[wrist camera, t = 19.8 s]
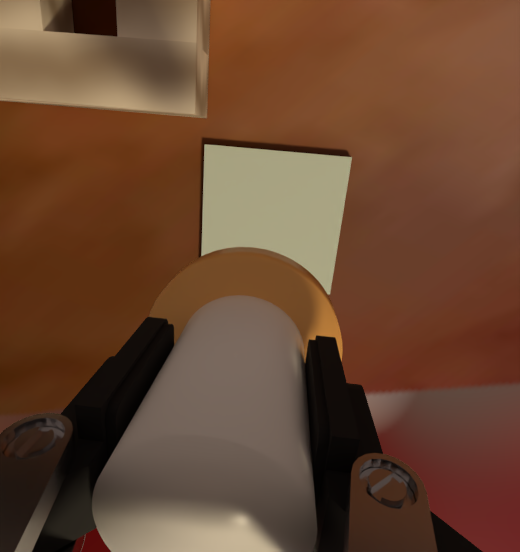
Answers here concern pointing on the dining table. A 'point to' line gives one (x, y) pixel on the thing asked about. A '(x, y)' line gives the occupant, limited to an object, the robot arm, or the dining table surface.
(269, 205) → the mat
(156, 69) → the socket block
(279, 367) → the plug
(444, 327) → the dining table surface
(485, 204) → the dining table surface
